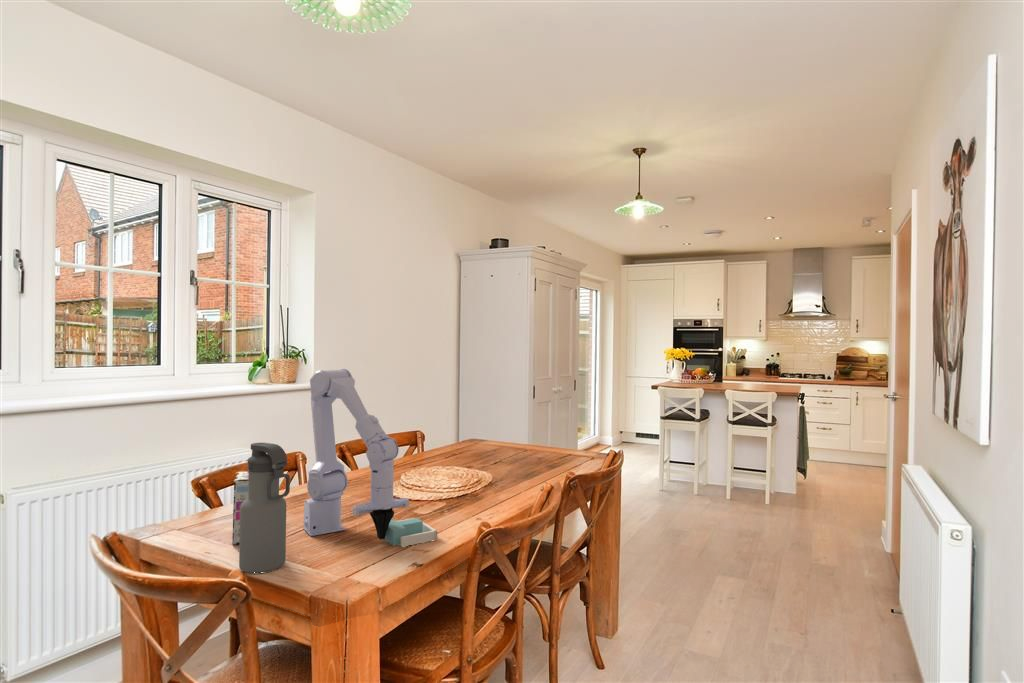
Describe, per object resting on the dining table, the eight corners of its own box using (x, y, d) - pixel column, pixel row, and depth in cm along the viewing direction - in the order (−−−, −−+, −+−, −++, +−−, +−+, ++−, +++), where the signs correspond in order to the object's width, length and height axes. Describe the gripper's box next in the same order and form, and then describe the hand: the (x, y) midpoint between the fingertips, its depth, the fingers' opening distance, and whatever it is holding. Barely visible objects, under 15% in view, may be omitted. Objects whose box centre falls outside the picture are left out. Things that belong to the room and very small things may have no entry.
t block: (393, 546, 145) (393, 530, 145) (379, 536, 152) (380, 521, 152) (427, 539, 150) (427, 524, 150) (412, 529, 157) (412, 515, 157)
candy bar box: (253, 543, 145) (254, 479, 145) (231, 545, 143) (232, 480, 143) (256, 529, 156) (257, 469, 156) (236, 531, 154) (237, 471, 154)
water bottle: (296, 562, 133) (297, 443, 133) (262, 578, 124) (264, 450, 124) (263, 555, 137) (265, 439, 137) (229, 570, 128) (231, 446, 128)
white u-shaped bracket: (401, 547, 144) (401, 537, 144) (381, 532, 154) (382, 523, 154) (437, 540, 149) (437, 530, 149) (415, 526, 160) (415, 517, 160)
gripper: (360, 493, 140) (359, 548, 140) (414, 485, 148) (413, 537, 148) (350, 486, 146) (349, 539, 146) (403, 479, 154) (402, 529, 154)
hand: (381, 538), depth 147 cm, fingers closed
